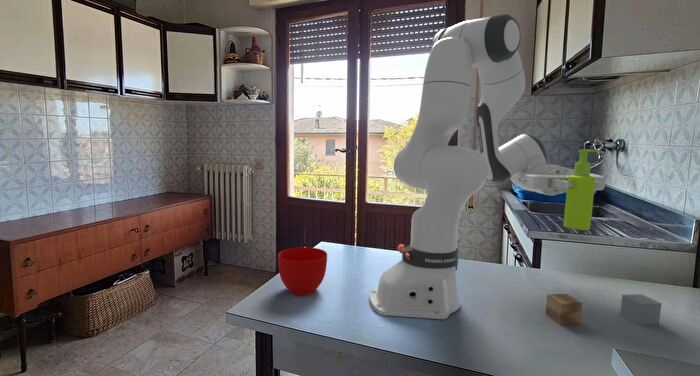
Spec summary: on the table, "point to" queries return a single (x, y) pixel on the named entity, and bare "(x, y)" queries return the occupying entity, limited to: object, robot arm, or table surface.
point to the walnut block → (564, 309)
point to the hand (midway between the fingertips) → (584, 185)
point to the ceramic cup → (302, 269)
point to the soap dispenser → (580, 194)
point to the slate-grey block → (640, 309)
